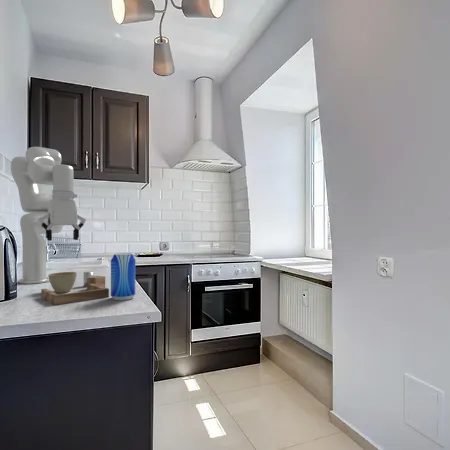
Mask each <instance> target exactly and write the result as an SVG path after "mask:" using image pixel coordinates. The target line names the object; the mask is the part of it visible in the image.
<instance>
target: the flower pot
mask: <svg viewBox="0 0 450 450" xmlns="http://www.w3.org/2000/svg"><path fill="white" fill-rule="evenodd" d="M77 275H78V274H77V272H76V271H75V272H74V271H63V272H62V271H61V272H59V271H58V272H53V273H48V276H47V277H48V278H49V281H48V282H49V283H50V287H52V289H53V292H54V293H56V294H66V293H70V292H71V291H72V288H73V287H74V285H75V282H76V279H77Z"/></svg>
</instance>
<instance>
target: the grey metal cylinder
mask: <svg viewBox="0 0 450 450" xmlns="http://www.w3.org/2000/svg"><path fill="white" fill-rule="evenodd" d="M94 274H95V272H94V271H84V272H83V288H87V277H92V276H95V275H94Z"/></svg>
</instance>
